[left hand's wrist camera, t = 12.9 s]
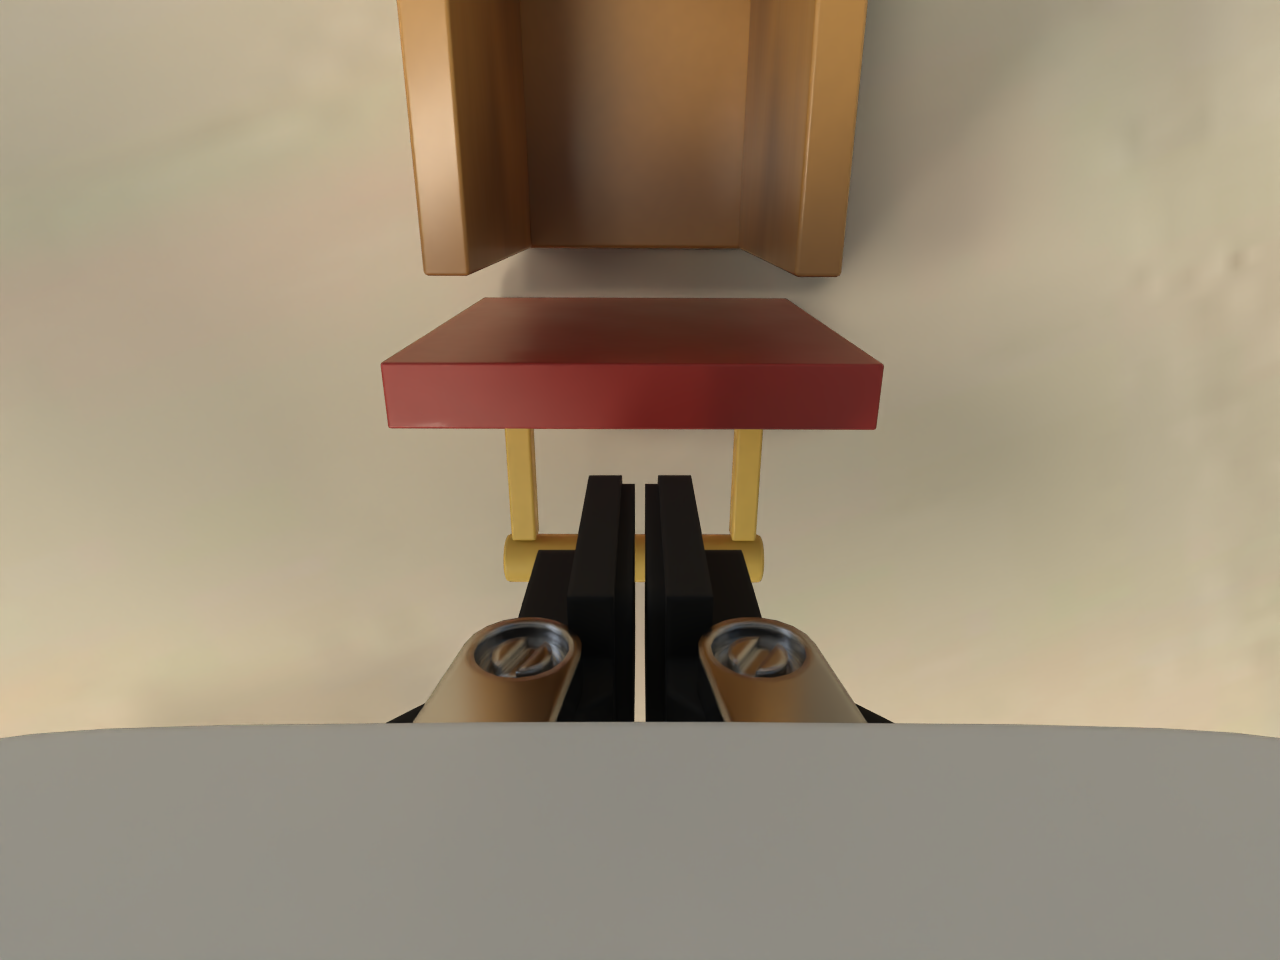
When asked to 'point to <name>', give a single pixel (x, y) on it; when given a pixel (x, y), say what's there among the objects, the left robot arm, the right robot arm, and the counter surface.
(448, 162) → the drawer
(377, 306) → the counter surface
